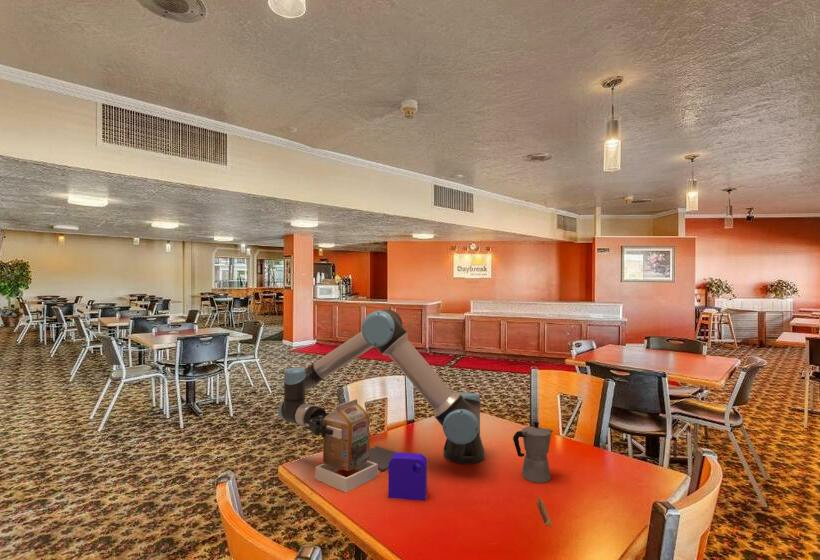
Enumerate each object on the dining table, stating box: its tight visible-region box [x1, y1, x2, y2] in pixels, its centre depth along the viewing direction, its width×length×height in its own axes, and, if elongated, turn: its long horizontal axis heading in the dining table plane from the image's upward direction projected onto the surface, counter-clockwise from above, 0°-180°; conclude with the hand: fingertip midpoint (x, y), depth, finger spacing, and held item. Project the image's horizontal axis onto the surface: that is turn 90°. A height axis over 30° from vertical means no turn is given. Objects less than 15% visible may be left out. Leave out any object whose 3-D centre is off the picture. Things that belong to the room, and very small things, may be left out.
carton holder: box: [314, 460, 379, 493], centre depth 136 cm, size 14×14×4 cm
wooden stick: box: [535, 496, 553, 526], centre depth 115 cm, size 3×12×2 cm, turn 174°
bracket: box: [387, 452, 428, 502], centre depth 132 cm, size 18×11×12 cm, turn 172°
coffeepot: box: [512, 421, 554, 484], centre depth 138 cm, size 15×9×18 cm, turn 110°
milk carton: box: [322, 398, 371, 472], centre depth 137 cm, size 11×11×19 cm
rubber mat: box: [368, 445, 397, 472], centre depth 152 cm, size 16×14×1 cm
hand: (355, 429), depth 134 cm, fingers closed on milk carton, 11 cm apart
